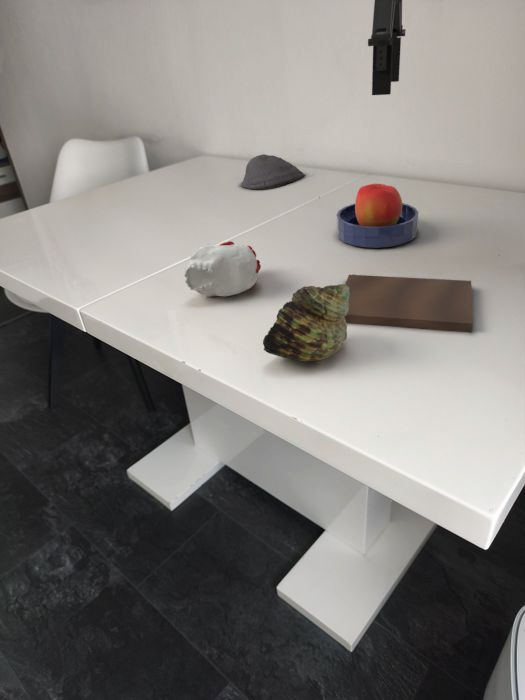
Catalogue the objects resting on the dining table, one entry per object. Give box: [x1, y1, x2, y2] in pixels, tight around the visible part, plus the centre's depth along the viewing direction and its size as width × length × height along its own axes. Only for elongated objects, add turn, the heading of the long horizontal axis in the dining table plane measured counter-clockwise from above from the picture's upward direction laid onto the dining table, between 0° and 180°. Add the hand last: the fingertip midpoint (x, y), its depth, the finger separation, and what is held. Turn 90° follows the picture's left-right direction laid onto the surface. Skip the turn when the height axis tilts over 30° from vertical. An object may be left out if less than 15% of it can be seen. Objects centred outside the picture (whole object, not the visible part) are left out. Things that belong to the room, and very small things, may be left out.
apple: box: [354, 183, 403, 227], centre depth 109 cm, size 10×10×10 cm
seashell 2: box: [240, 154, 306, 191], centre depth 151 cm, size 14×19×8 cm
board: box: [345, 274, 474, 333], centre depth 86 cm, size 20×14×2 cm
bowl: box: [336, 202, 420, 249], centre depth 111 cm, size 16×16×4 cm
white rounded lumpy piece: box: [184, 240, 262, 297], centre depth 94 cm, size 9×11×15 cm
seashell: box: [262, 283, 350, 362], centre depth 74 cm, size 11×11×10 cm
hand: (386, 88), depth 87 cm, fingers open, 13 cm apart
